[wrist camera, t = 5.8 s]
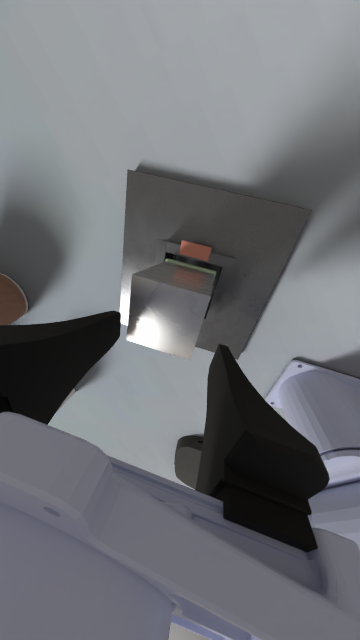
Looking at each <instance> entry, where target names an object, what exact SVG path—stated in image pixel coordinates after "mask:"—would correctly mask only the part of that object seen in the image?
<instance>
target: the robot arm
mask: <svg viewBox="0 0 360 640" xmlns="http://www.w3.org/2000/svg"><path fill="white" fill-rule="evenodd" d="M120 326H121V313H119V312H116V311H109V312H104V313H100V314H95V315H91V316H87V317H82V318H78V319H73V320H68V321H61V322H54V323H45V324H32V325H0V640H168V638H169V630H170V623H173V624H176V625H178V626H180V627H183V628H185V629H187V630H190V631H192V632H194V633H196V634H199V635H201V636H203V637H206V638H208V639H210V640H360V379H358V378H355V377H352V376H349V375H345V374H342V373H339V372H335V371H332V370H329V369H325V368H322V367H319V366H315V365H312V364H309V363H306V362H302V361H299V360H292V361H291V362H290V363H289V365H288V366H287V368H286V369H285V371H284V372H283V373H282V375H281V376H280V378H279V379H278V381H277V382H276V383H275V385H274V386H273V388H272V389H271V391H270V392H269V394H268V395H267V396H266V398H265V400H264V399H263V397H262V396H261V395H260V394H259V393H258V392H257V390H256V389H255V388H254V387H253V386H252V384H251V383H250V382H249V380H248V379H247V377H246V376H245V375H244V373H243V372H242V370H241V369H240V367H239V365H238V364H237V362H236V360H235V358H234V357H233V355H232V353H231V351H230V349H229V348H228V346H225V345H222V344H219V345H218V347H217V350H216V352H215V354H214V357H213V359H212V362H211V364H210V368H209V374H208V387H207V415H206V423H205V431H204V438H203V445H202V452H201V459H200V465H199V471H198V477H197V483H196V489H195V490H193V489H190V488H188V487H185V486H183V485H180V484H178V483H175V482H173V481H170V480H168V479H165V478H163V477H160V476H158V475H155V474H153V473H150V472H148V471H145V470H143V469H140V468H138V467H135V466H132V465H130V464H127V463H125V462H122V461H120V460H117V459H115V458H112V457H110V456H107V455H106V454H105V453H104V452H103V451H102V450H101V449H100V448H99V447H97V446H95V445H93V444H91V443H90V442H88V441H86V440H84V439H81V438H79V437H76V436H74V435H71V434H69V433H66V432H64V431H61V430H59V429H56V428H54V427H51V426H48V423H49V422H50V420H51V419H52V417H53V416H54V414H55V413H56V411H57V410H58V409H59V407H60V406H61V405H62V403H63V402H64V400H65V399H66V398H67V396H68V395H69V394H70V393H71V391H72V390H73V389H74V387H75V386H76V385H77V384H78V382H79V381H80V380H81V379H82V378H83V376H84V375H85V374H86V373H87V372H88V371H89V370H90V368H91V367H92V366H93V365H94V364H95V363H97V362H98V361H99V360H100V359H101V358H102V357H103V356H104V355H105V354H106V353H107V352H108V351H109V350H110V348H111V347H112V346H113V345H114V344H115V342H116V341H117V340H118V338H119V337H120ZM300 364H301V365H300ZM298 365H300V366H298ZM270 405H271V406H274V407H277V408H280V409H283V412H284V414H285V417H286V420H287V421H285V420H284V419H283V418H282V417H281V416H280V415H279V414H278V413H277V412H276V411H275V410H274V409H273V408H272V407H271V406H270Z"/></svg>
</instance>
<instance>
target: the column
mask: <svg viewBox="0 0 360 640" xmlns="http://www.w3.org/2000/svg"><path fill="white" fill-rule="evenodd" d="M215 275H216V271H213V270H210V269H206V268H202V267H198V266H195V265H191V264H187V263H183V262H180V261H176V260H172V259H168V258H167V259H166V261H165V262H162V263H160V264H157V265H155V266H152V267H150V268H147V269H144V270H142V271H139V272H137V273H134V274H132V281H131V293H130V305H129V317H128V329H127V340H129V341H132V342H135V343H138V344H141V345H144V346H147V347H150V348H153V349H157V350H160V351H163V352H166V353H169V354H172V355H175V356H178V357H181V358H185V359H188V360H191V357H192V354H193V350H194V347H195V344H196V341H197V338H198V335H199V332H200V329H201V326H202V323H203V320H204V316H205V313H206V310H207V307H208V304H209V301H210V298H211V293H212V287H213V282H214V278H215Z"/></svg>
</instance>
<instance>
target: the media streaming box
mask: <svg viewBox="0 0 360 640" xmlns="http://www.w3.org/2000/svg"><path fill="white" fill-rule="evenodd" d="M202 445H203V438H201V437H195V436H185V437H182V438H180V439H179V440H178V443H177V447H176V452H175V473H176V476H177V478H178V479H180V480H181V481H182V482H183V483H185V484H186V485H188V486H190V487H192V488H194V489H196V483H197V477H198V471H199V465H200V459H201V452H202Z"/></svg>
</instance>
